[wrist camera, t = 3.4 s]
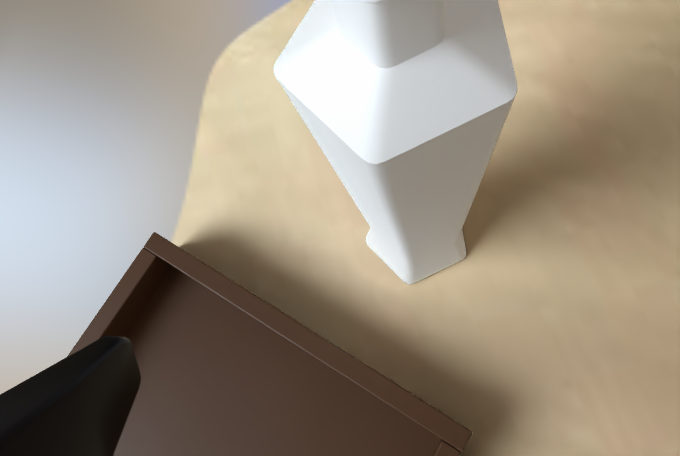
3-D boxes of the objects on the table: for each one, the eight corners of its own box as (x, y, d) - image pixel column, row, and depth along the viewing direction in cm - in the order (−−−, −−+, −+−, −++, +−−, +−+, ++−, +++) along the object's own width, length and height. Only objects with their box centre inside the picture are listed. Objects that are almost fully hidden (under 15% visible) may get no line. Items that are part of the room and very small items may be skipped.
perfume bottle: (446, 314, 21) (463, 129, 7) (344, 261, 23) (189, 14, 8) (501, 209, 22) (612, -140, 8) (399, 163, 23) (341, -210, 9)
